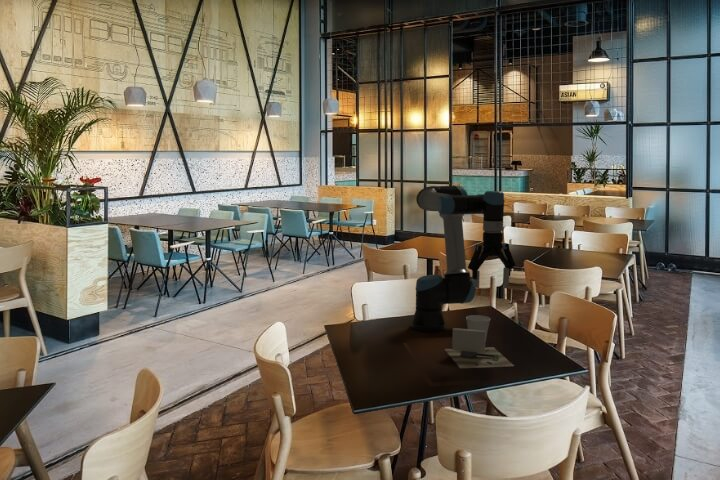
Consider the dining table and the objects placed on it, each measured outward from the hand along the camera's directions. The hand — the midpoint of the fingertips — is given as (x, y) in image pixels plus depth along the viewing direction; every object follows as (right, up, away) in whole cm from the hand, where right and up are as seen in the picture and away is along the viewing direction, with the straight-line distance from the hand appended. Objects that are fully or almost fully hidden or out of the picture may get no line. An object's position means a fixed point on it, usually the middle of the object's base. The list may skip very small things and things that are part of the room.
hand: (491, 286), depth 230 cm
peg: (-8, -26, -7) cm, 28 cm away
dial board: (-7, -27, -8) cm, 29 cm away
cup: (-3, -25, +12) cm, 28 cm away
